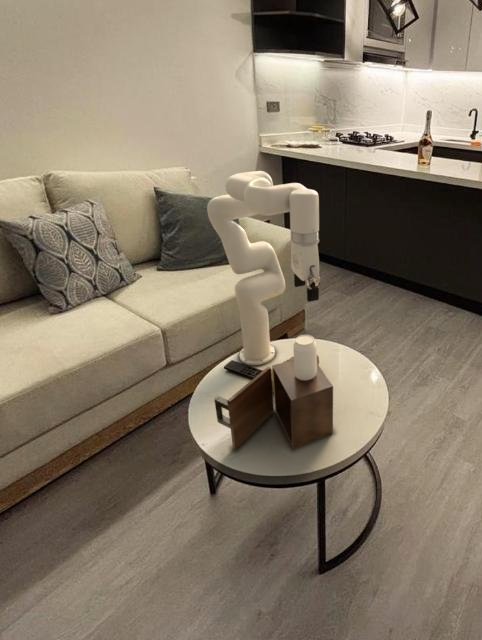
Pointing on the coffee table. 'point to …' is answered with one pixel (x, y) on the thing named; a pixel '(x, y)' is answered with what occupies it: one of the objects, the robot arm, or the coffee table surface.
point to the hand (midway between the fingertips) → (306, 292)
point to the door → (247, 407)
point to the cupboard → (302, 404)
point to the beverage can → (305, 357)
